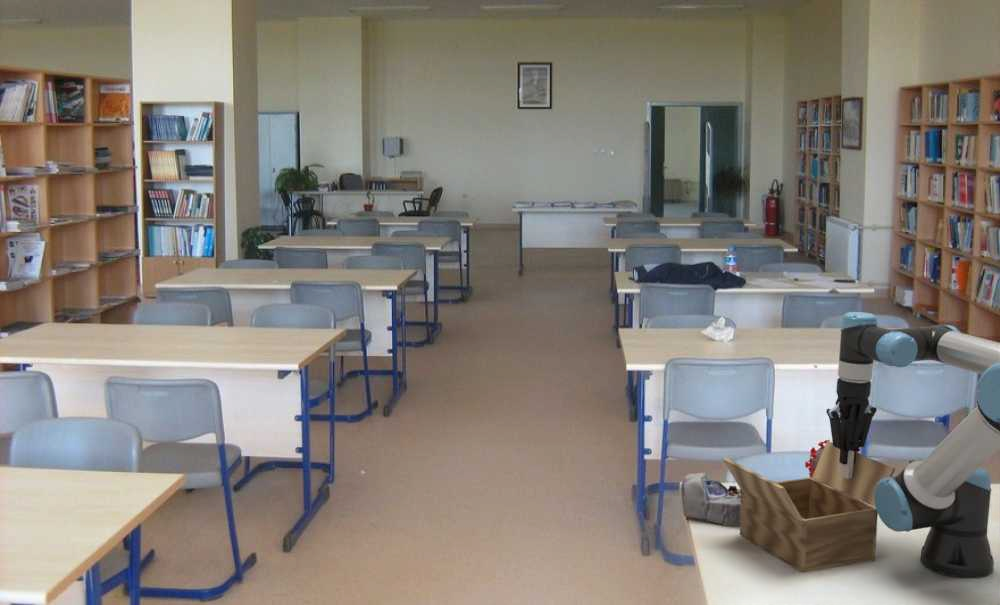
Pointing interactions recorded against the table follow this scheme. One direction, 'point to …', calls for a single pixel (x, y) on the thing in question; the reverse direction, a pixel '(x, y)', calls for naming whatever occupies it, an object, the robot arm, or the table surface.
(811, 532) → the carton
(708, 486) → the cell model
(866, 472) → the right flap
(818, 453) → the virus model
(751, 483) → the left flap
